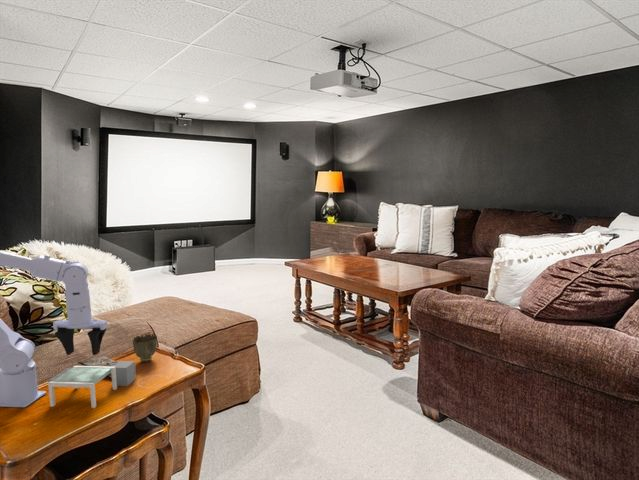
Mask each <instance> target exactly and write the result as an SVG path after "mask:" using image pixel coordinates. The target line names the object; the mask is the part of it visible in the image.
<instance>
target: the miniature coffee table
mask: <svg viewBox="0 0 639 480" xmlns="http://www.w3.org/2000/svg"><path fill="white" fill-rule="evenodd" d="M73 367H75V368H109V369H111V373H112V378H111V384H112V391H113V390H114V391H115V390H117V389H118V386H117V381H116V367H110V366H90V365H74V366H72V368H73ZM47 384H48V394H49V404H50V407H55V406H56V396H55V395H56V394H55V388H56V387H58V388H74V389H75V390H76V389H80V388H84V389H85V388H87V389H88V388H89V392H90V403H91V404H90V405H91V408H92V409H95V408H96V407H97V399H96V398H97V397H96V396H97V395H96V384H95V383H90V382H54V381H50V382H49V383H47Z"/></svg>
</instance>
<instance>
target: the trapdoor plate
mask: <svg viewBox="0 0 639 480" xmlns="http://www.w3.org/2000/svg"><path fill="white" fill-rule="evenodd" d="M109 373H111V369H109V368H75V367H73V366H72V367H67V368H65V369H64V370H63V371H61V372H59V373H57V374H56V375H54V376H52V377H51V378H50V379H48V380H47V382H48V383H49V382H50V381H54V382H90V383H95V385H96V384H97V383H99V382H100V381H102V380H103V379H104V378H106V377H107V376H108V374H109ZM48 383H47V384H48Z"/></svg>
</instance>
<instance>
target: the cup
mask: <svg viewBox="0 0 639 480" xmlns="http://www.w3.org/2000/svg"><path fill="white" fill-rule="evenodd" d="M157 338H158V336H157V334H154V333H153V334H151V333H148V334H147V333H145V335H143V334H141V336H140V335H136V337H133V339H131V340H132V344H133V350H134V353H135V356H136V357H138V358H139V360H140V362H142V363H147V362H148V363H149V362H151V361H152V359H153V355H155V353H156V351H157V344H158V341H157V340H158V339H157Z"/></svg>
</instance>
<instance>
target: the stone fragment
mask: <svg viewBox="0 0 639 480" xmlns="http://www.w3.org/2000/svg"><path fill="white" fill-rule="evenodd" d="M105 361H106V362H107V363H102V362H105ZM118 362H119V361H118ZM118 362H117V361H116V360H115V359H112V358H109V357H108V356H98V355H96V357H95V358H92V359H89V360H88V359H87V360H86V359H85V360H82V361H81V363H82V364H83V365H86V366H110V367H112V366H114V365H115V364H116V363H118ZM107 376H108V377H110V378H111V379H112V373H109V374H108V375H107Z"/></svg>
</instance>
